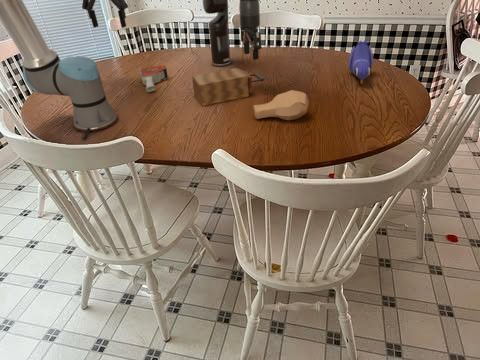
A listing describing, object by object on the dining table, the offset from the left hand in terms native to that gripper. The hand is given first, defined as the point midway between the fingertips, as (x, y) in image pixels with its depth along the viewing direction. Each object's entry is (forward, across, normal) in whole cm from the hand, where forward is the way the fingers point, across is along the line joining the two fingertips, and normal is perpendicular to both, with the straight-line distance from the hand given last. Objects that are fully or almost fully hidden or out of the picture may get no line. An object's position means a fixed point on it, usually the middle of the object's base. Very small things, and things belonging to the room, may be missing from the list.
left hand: (109, 27), depth 153 cm
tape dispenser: (+24, -15, 0) cm, 28 cm away
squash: (+24, -78, +26) cm, 86 cm away
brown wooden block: (+24, -51, +10) cm, 58 cm away
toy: (+24, -106, -16) cm, 110 cm away
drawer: (+23, -56, +7) cm, 61 cm away
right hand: (+10, -62, +2) cm, 63 cm away
